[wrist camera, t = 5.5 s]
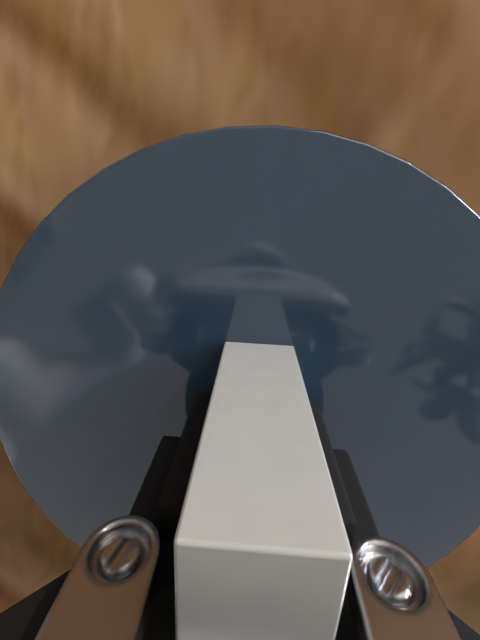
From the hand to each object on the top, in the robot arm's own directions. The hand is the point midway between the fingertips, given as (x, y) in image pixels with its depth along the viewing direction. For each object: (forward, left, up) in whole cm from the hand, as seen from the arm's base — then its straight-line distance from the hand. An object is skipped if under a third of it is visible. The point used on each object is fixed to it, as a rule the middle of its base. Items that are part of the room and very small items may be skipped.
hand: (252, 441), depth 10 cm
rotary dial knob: (0, 0, -1) cm, 1 cm away
